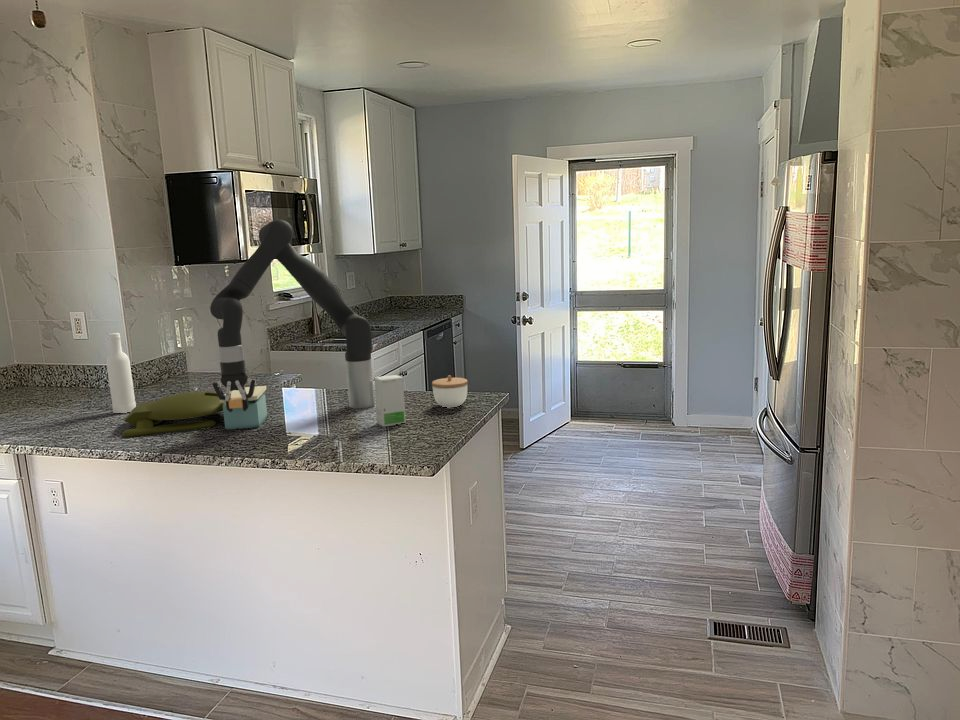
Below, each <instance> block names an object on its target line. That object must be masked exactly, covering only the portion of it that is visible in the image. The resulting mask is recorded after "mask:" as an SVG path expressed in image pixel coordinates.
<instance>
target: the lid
mask: <svg viewBox="0 0 960 720" xmlns="http://www.w3.org/2000/svg"><path fill="white" fill-rule="evenodd" d="M244 387H245V389H246V393H247V394H248V393H249V389H250V386H244ZM266 390H267V385H258V386H256V385H255V389H254V393H253V396H252V397H250V398H248V401H252V400H258V398H259V397H260V396H261V395H262V394H265V392H266ZM224 395H225V396H226V392H225V393H224ZM242 400H243V399H242V396H241V394H240V392H239V390H233V391H232V393H231V398H230V400H229V409H230V408H242V407H243V401H242ZM220 402H226V401H225V400H220Z"/></svg>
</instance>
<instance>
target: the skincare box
mask: <svg viewBox="0 0 960 720" xmlns="http://www.w3.org/2000/svg"><path fill="white" fill-rule="evenodd" d="M373 383H374V397H375V412H376V413H375V414H376V415H375V416H376V423H377V424H378V425H379V426H381V427H392V426H397V425H396V424H398V425H402V424H401V423H405V424H406V423H407V421H406V405H405V404H406V403H405V388H404V387H405V386H404V385H405V384H404V377H403V376H400V375H397V374H394V375H383V376H374V377H373Z"/></svg>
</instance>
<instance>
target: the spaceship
mask: <svg viewBox="0 0 960 720" xmlns="http://www.w3.org/2000/svg"><path fill="white" fill-rule="evenodd" d="M225 403H226V402H220V399H219V397H218V395H217V393H216V391H189V392H188V391H187V392H181V393H180V392H179V393H175V394H171V395H167V396H163V397H161V398H159V399H157V400H150V401H141V402H140V403H139V404H138V405H136V407H135V408H134V409H133V410H132V411H131V412H130V413H128V414H127V416H126V417H125V418H124V419H123V422H125V423H127V424H129V425H132V426H134V427H135V428H129V429H126V430H124V431H123V432H122V436H123V437H124V438H131V437H132V438H133V437H141V436H150V435H159V434H160V433H162V434H168V433H169V432H170V433H177V432H178V431H179V432H186V430H188V431H195V430H194V429H197V430H202V429H201V428H205V429H210V428H209V427H212V428H214V427H215V426H216V425H217V423H216V421H214V420H211V419H209V420H199V421H191V422H189V421H188V422H180V423H172V424H164V425H159V424H160V423H161V422H162V421H171V420H173V421H174V420H186V419H193V418H200V417H204V416H209V415H214V414H216V413H217V414H218V413H221V412H223V405H224V404H225ZM213 426H214V427H213Z"/></svg>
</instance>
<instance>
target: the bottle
mask: <svg viewBox="0 0 960 720" xmlns="http://www.w3.org/2000/svg"><path fill="white" fill-rule="evenodd" d="M108 340H109V345H110V354H108V355H107V358H106V370H107V376H108V383H109V392H110V397H111V403H112V404H111V407H112V411H113V414H114V413H126V414H128V413H127V412H131V411H132V410H133V409H134V408H135V407H136V406H137V404H136V398H135V392H134V390H135V389H134V383H133V382H134V381H133V376H132V369H131V361H130V357H129V356H128V354H126V353H125V352H124V351H123V348H122V340H121V334H120V332H111V333H109V334H108Z"/></svg>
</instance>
